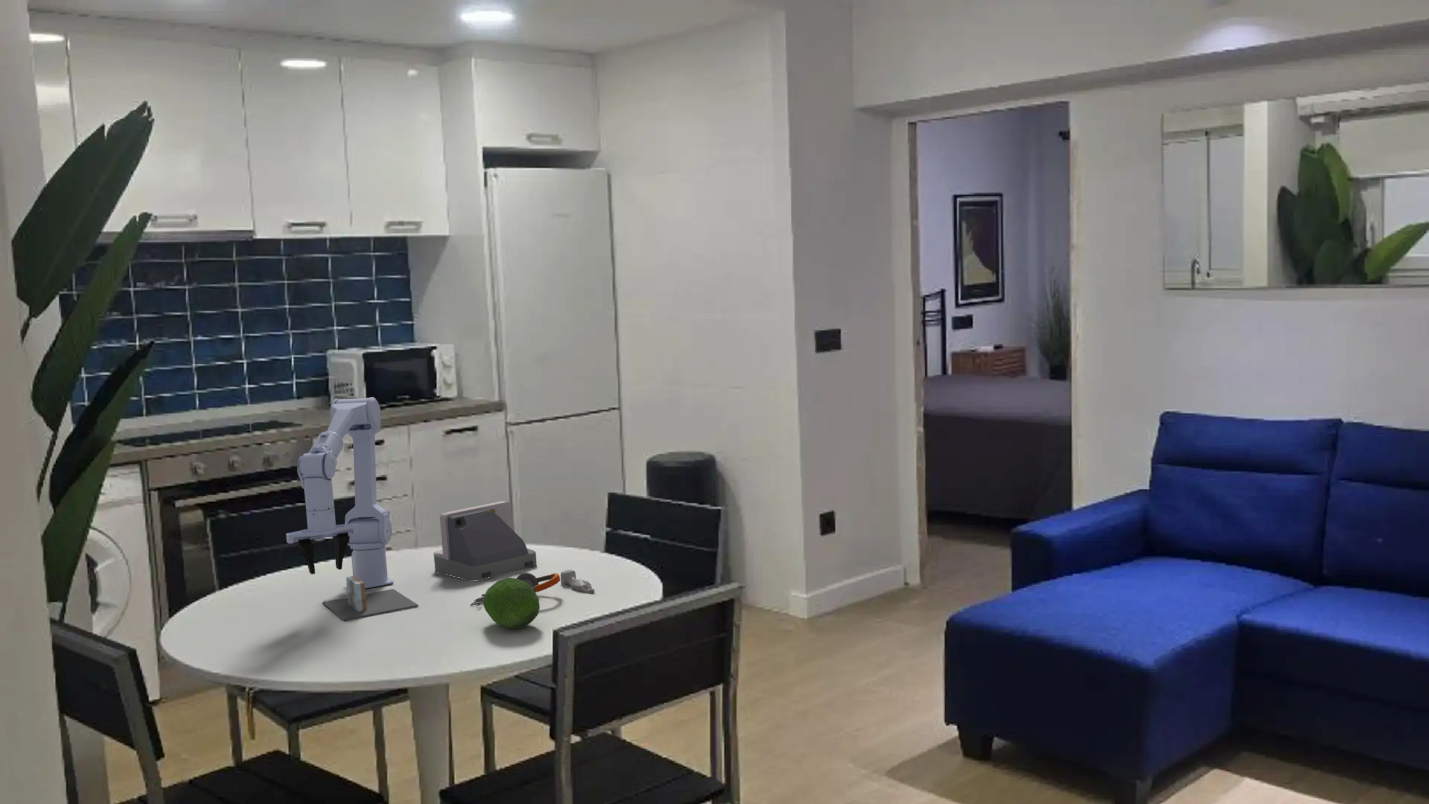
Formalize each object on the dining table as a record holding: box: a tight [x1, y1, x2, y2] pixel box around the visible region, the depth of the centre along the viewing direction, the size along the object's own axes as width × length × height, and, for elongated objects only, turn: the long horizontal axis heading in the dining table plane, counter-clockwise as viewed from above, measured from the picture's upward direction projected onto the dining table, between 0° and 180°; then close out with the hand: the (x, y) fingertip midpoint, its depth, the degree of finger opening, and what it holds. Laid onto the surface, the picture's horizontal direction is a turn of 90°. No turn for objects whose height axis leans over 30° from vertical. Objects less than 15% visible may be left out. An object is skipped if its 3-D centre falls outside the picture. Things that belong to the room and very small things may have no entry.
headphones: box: [470, 572, 561, 608], centre depth 269 cm, size 17×5×20 cm
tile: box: [345, 575, 367, 612], centre depth 269 cm, size 8×2×6 cm, turn 31°
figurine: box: [560, 569, 595, 594], centre depth 276 cm, size 4×12×4 cm, turn 35°
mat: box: [322, 588, 419, 622], centre depth 272 cm, size 18×16×1 cm
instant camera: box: [433, 500, 537, 582], centre depth 300 cm, size 21×21×15 cm
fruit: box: [482, 577, 541, 630], centre depth 249 cm, size 15×10×10 cm, turn 33°
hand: (325, 571), depth 265 cm, fingers open, 5 cm apart
